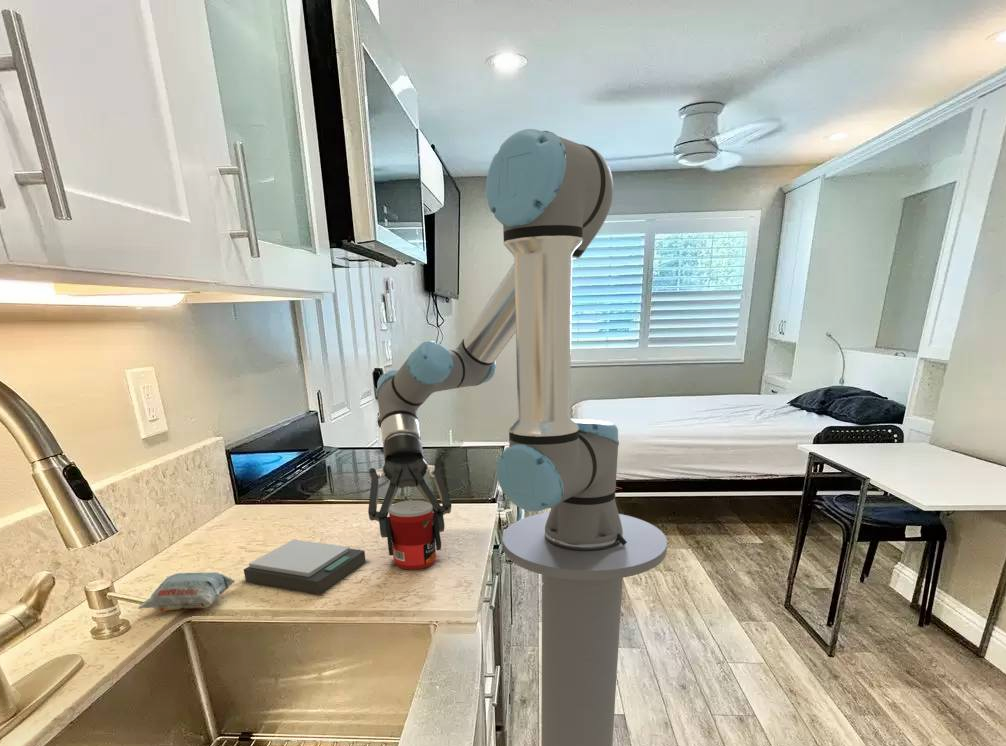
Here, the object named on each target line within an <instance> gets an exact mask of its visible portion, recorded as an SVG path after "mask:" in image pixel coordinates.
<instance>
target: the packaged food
mask: <svg viewBox="0 0 1006 746" xmlns="http://www.w3.org/2000/svg"><path fill="white" fill-rule="evenodd" d="M234 583H235V580H234V579H233V578H231V577H229V576H227V575H225V574H223V573H220V572H215V571H214V572H213V571H212V572H211V571H210V572H177V573H174V574H172V575H169V576H168V577H166V578H165V579H164V580H163V581H162V582H161V583H160V584H159V586H158V587H157V588H156V589H155V590H154V591H153V593H152V594H151V596H150V598H147V600H145V601H144V602H143V603H141V604H140V605H138V608H137V609H139V610H142V609H154V610H157V611H171V610H173V611H174V610H197V609H206V608H209V607H210V606H213V603H214V602H216V600H217V599H218V597H220V596H221V595H222V594H223V593H224V592H225V591H226V590H228V589H229V588H230V586H232V585H233V584H234Z"/></svg>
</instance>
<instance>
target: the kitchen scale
mask: <svg viewBox="0 0 1006 746" xmlns="http://www.w3.org/2000/svg"><path fill="white" fill-rule="evenodd" d="M366 562H367V560H366V551H365V550H364V549H358V548H357V549H356V548H351V547H350V546H344V545H338V544H331V543H324V542H316V541H308V540H302V539H301V540H300V539H291V540H290V541H288V542H286V543H285V544H282V545H281V546H279V547H276V548H275V549H273V550H272V551H270V552H267V553H266V554H263V555H262V556H260V557H258V558H256V559H254V560H252V561H251V562H249V563H248V566H247V567H245V568H244V569H243V575H244V579H245V582H247V583H252V584H258V585H264V586H270V587H276V588H282V589H288V590H293V591H297V592H304V593H310V594H316V595H321V594H322V593H324V592H326V590H327V591H328V589H329V588H332V586H334V585H336V584H337V583H338V582H339V581H341V580H342V579H344V578H345V577H347V576H348V575H350V574H351V573H352V572H354V571H355V570H356V569H358V568H359V567H361V566H362V565H364V564H365V563H366Z"/></svg>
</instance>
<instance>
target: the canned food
mask: <svg viewBox="0 0 1006 746" xmlns="http://www.w3.org/2000/svg"><path fill="white" fill-rule="evenodd" d="M388 517H389V518H390V527H391V537H392V546H393V555H392V556H393V560H394V561H393V562H394V563H395V565H396V566H397V567H398V568H401V569H405V570H420V569H425V568H428V567H430V566H432V565H433V564H434V563H435V562H436V558H437V549H436V542H435V533H434V519H433V508H432V504H430V503H429V502H427V501H426V500H425V501H424V500H420V499H419V500H417V499H415V500H414V499H413V500H411V499H410V500H401V501H399V502H396V503H392V505H391V506H390V507H389V513H388Z"/></svg>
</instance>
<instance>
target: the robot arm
mask: <svg viewBox="0 0 1006 746" xmlns="http://www.w3.org/2000/svg"><path fill="white" fill-rule="evenodd" d="M486 175H487V176H486V181H485V195H486V201H487V206H488V208H489V210H490V212H491V213H492V214H493V216H494V219H496V220H497V221H498V222H499V223H500V224H501V225H502V232H503V233H502V234H503V247H505V249H507V250H508V251H509V253H510V254H511V255H512V257H513V262H514V263H513V264H512V266H511V267H510V269H509V270H508V272H507V273H506V275H505V276H504V277H503V279H502V281H501V282H500V283H499V285H498V287H497V288H496V289H495V291H494V292H493V293H492V296H491V297H490V298H489V300H488V302H487V303H486V304H485V306H484V307H483V309H482V311H481V312H480V313H479V315H478V317H476V320H475V321H474V323H473V324H472V326H471V327H470V329H469V330H468V332H467V333H466V335H465V336H464V338H463V339H462V341H461V342H460V343H459V344H458V346H457V347H456V348H453V349H447V348H446V347H445V346H444V345H442V344H440V343H436V342H435V341H434V340H426V341H423V342H422V343H421V342H420V344H419V345H418V346H417V347H416V348H415V349H414V350H413V351H411V353H410V354H409V355H408V357H407V359H406V360H405V361H404V363H403V364H402V365H401V366H400V367H399V369H393V370H388V371H387V372H386V373H383V374H381V375H380V376H379V378H378V380H377V382H376V383H377V384H376V385H377V386H376V387H377V389H376V397H377V398H376V400H377V405H378V413H379V421H380V431H381V438H382V439H381V441H382V449H383V458H384V459H383V460H384V465H383V466H382V468H378V469H375V468H374V467H371V468H370V469H369V471H368V472H369V479H370V490H369V491H370V492H369V500H368V501H369V502H368V510H367V513H368V519H369V520H370V521H371V522H372V521H373V522H374V521H376V522H378V523H379V533H380V537H381V538H383V539H384V538H387V548H388V556H394V555H393V546H392V537H391V527H390V518H389V507H390V506H391V505H393V504H394V503H393V502H394V500H395V497H396V494H397V493H398V491H399V489H403V488H407V487H408V488H416V489H417V491H419V492H420V494H421V495H422V497H423V498H424V500H425V502H429V503H430V504H432V508H433V519H434V533H435V547H436V551H442V538H441V533H443V532H444V531H445V528H446V527H445V517H444V515H447V514H451V511H452V502H451V499H450V496H449V493H448V491H447V488H446V485H445V482H444V479H443V477H442V474H441V472H442V464H441V463H439V462H435V464H433V465H431V464H428V463H427V462H426V460H425V459H424V457H425V456H424V449H423V444H422V436H421V435H422V434H421V429H420V422H419V421H420V420H419V413H418V410H419V408H420V407H421V406H422V405H423V404H424V403H425V402H426V401H427V400H428V398H429V397H430V396H431V395H433V394H434V393H437V392H442V391H443V392H444V391H449V390H455V389H460V388H468V387H476V386H480V385H481V384H485V383H488V382H489V381H491V380H492V379H493V377H494V375H495V371H496V368H497V362H496V359H497V358H498V356H499V355H500V354H501V353H502V351H503V350H504V348H505V347H506V346H507V345H508V343H509V342H510V341H511V339H513V337H514V335H515V350H516V352H515V355H516V390H517V391H516V393H517V394H516V395H517V397H516V399H517V418H516V420H514V422H513V423H512V424H511V425H510V426H509V428H508V444H509V445H508V447H506V448H505V449H504V450H503V451H502V453H501V455H499V456H498V459H497V462H496V469H495V470H496V478H497V482H498V484H499V487H500V489H501V491H502V493H503V494H504V496H506V497H507V498H508V499H509V501H510V502H511V503H512V504H513V505H514V506H516V507H518V508H519V509H521V510H524V511H527V512H540V511H543V510H546V509H550V510H549V512H550V513H549V516H548V519H547V522H546V525H545V539H546V540H547V541H548V542H549V543H550V544H552V545H554V546H557V547H559V548H563V549H567V550H574V551H599V550H605V549H609V548H612V547H614V546H616V545H618V544H619V543H620V542H621V543H622V544H623V545H625V544H626V543H627V541H626V540H625V539H624V538H623V529H622V524H621V521H620V517H619V514H620V513H619V509H618V506H617V503H616V487H617V472H618V456H619V455H618V454H619V445H620V441H619V429H618V426H617V425H616V424H615V423H612V422H609V421H603V420H595V419H580V418H572V417H571V374H572V373H571V369H572V367H571V366H572V365H571V363H572V362H571V359H572V357H571V355H572V352H571V351H572V284H573V283H572V281H573V279H572V278H573V276H572V273H573V272H572V271H573V270H572V269H573V260H574V259H579V258H581V257H582V255H583V254H584V253H585V251H586V250H587V249H588V248H589V246H590V245H591V244H592V242H593V241H594V240H595V238H596V236H597V235H598V234H599V232H600V230H601V229H602V227H603V226H604V223H605V222H606V219H607V217H608V215H609V213H610V211H611V210H610V209H611V207H612V203H613V198H614V179H613V173H612V171H611V168H610V166H609V164H608V162H607V160H606V159H605V158H604V156H603V155H602V154H601V153H600V152H598V151H597V150H596V149H595V148H593V147H590V146H589V145H585V144H580V143H578V142H575V141H573V140H569V139H568V138H564V137H561V136H559V135H557V134H556V133H554V132H553V131H550V130H540V129H536V128H527V129H526V128H525V129H522V130H519V131H516V132H515V133H513V134H511V135H510V136H509V137H508V138H506V139H505V140H504V141H503V143H502V144H501V145H500V146H499V149H498V151H497V153H495V154H494V156H493V157H492V159H491V163H490V165H489V168H488V172H487V174H486ZM426 473H429V476H430V477H431V478H433V481H434V484H435V488H436V490H437V495H438V496H439V498H440V501H438V499H437V498H436V496H435V494H434V493H433V492H432V490H431V489H430V487H429V485H428V484H427V482H426V481H425V478H424V477H425V475H426ZM383 476H385V477H386V478H387V480H389V485H388V488H387V490H386V493H385V495H384V498H383V501H382V504H381V507H380V508H379V511H377V510H378V500H379V490H380V489H379V487H380V484H379V483H381V481H382V480H383V479H382V478H383ZM440 502H441V504H440Z"/></svg>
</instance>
